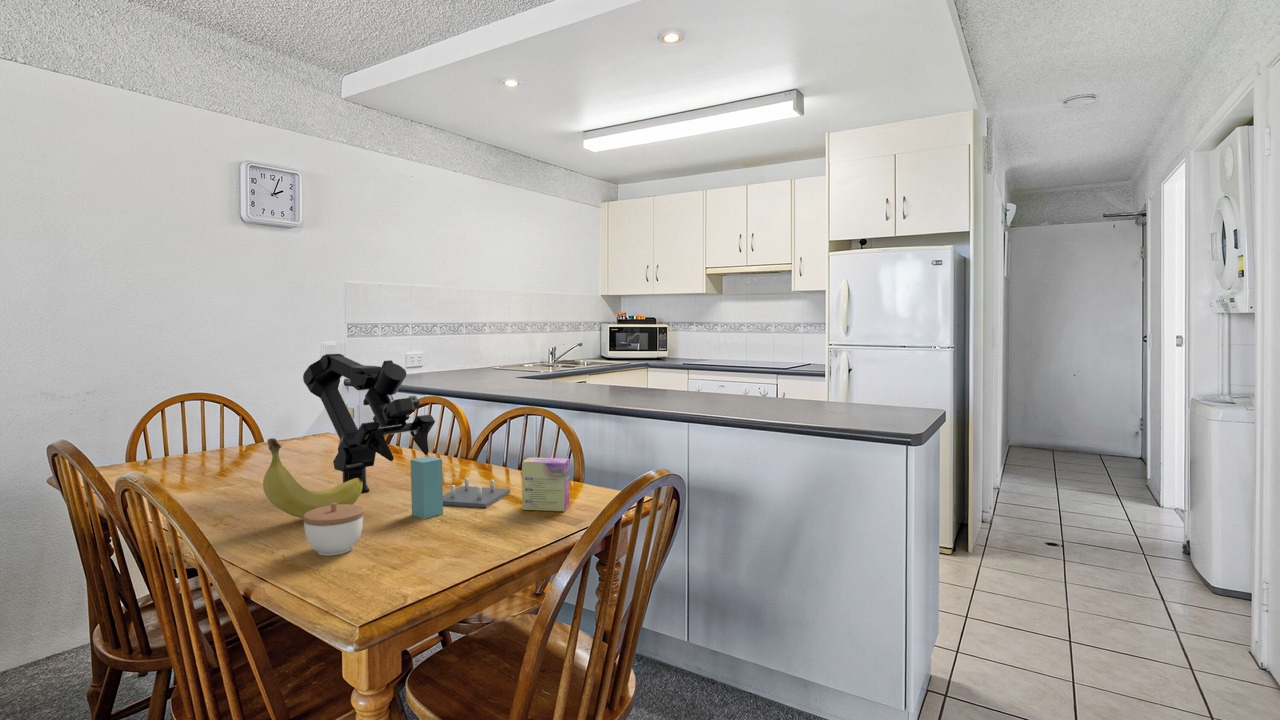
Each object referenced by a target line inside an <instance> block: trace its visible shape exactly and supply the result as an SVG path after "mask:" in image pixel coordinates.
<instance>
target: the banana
mask: <svg viewBox="0 0 1280 720" xmlns="http://www.w3.org/2000/svg"><path fill="white" fill-rule="evenodd" d="M267 445H268V450H269V451H270V453H271V455H272V456H271V457H272V458H271V463H270V464H269V467H268V469H267V470H266V472H265V474H264V477H263V482H262V487H263V492H264V494H265V496H266V498H267V500H268V501H269V502H270V504H272V505H273V506H274V507H275V508H277V509H279V510H281V511H282V512H283V513H286V514H287V515H290V516H292V517H294V518H299V519H303V516H304V514H305V513H306V512H308V511H310V510H313V509H316V508H319V507H324V506H330V505H331V504H332V503H337V505H339V504H351V505H355V503H357V501H358V499H359V498H360V496H361V493H363V492H362V487H363V482H362V480H361V479H360V478H354V479H352V480H349V481H347V482H344V483H343V482H342V483H341V484H338V485H337V486H334V487H332V488H330V489H329V488H328V489H325V490H321V491H320V490H319V491H311V490H309V489H307V488H305V487H303V486H302V485H301V484H299V482H298V481H297V480H296V479H295V477H293V475H292V474H291V473H290V471H289V470H288V469H287V468H286V466H284V465H283V463H282V461H281V458H280V449H281V448H282V445H281V444H279V443H278V441H277V439H276V438H275V437H274V438H273V437H272V438H268V439H267Z"/></svg>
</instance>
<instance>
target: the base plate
mask: <svg viewBox="0 0 1280 720" xmlns="http://www.w3.org/2000/svg"><path fill="white" fill-rule="evenodd" d="M489 483H490V484H489V485H490V487H483V486H470V485H469V478H467V477H465V478H464V486H463V485H461V486H458V487H456V485H455V484H451V485H450V491H449V492H447V493H445V494H443V506H450V505H456V506H455V507H464V506H471V507H470V508H479V507H487V506H489V505H490V506H492V505H493V504H495V503H496V502H495V501H497V500H498V501H500V500H501V499H503V498H505V497H506V496H508V495H509V494H511V489H510V488H497V487H495V479H490V480H489ZM508 493H509V494H508ZM507 494H508V495H507ZM505 495H506V496H505ZM502 497H503V498H502ZM500 498H501V499H500ZM499 499H500V500H499ZM498 501H497V502H498ZM494 502H495V503H494ZM492 503H493V504H492ZM491 504H492V505H491ZM490 506H489V507H490ZM487 508H488V507H487Z"/></svg>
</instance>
